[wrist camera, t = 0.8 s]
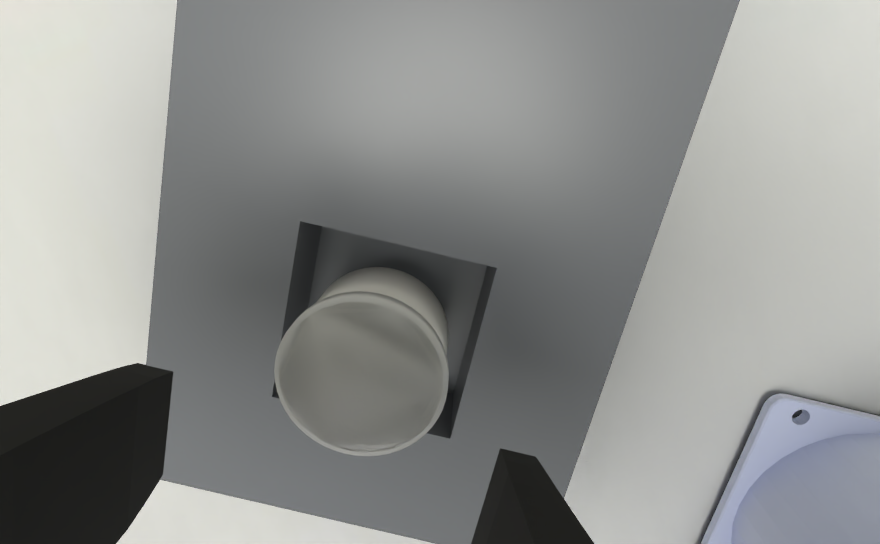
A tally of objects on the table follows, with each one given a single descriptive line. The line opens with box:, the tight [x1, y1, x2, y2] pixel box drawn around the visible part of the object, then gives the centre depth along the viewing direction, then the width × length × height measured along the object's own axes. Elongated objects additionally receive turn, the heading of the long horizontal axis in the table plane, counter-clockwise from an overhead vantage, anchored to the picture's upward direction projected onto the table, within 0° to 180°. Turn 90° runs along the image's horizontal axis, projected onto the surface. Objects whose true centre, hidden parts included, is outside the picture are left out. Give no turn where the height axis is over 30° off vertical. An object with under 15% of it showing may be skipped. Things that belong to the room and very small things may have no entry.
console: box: [146, 0, 740, 544], centre depth 14 cm, size 24×12×3 cm, turn 167°
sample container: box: [274, 267, 449, 456], centre depth 13 cm, size 4×4×3 cm
